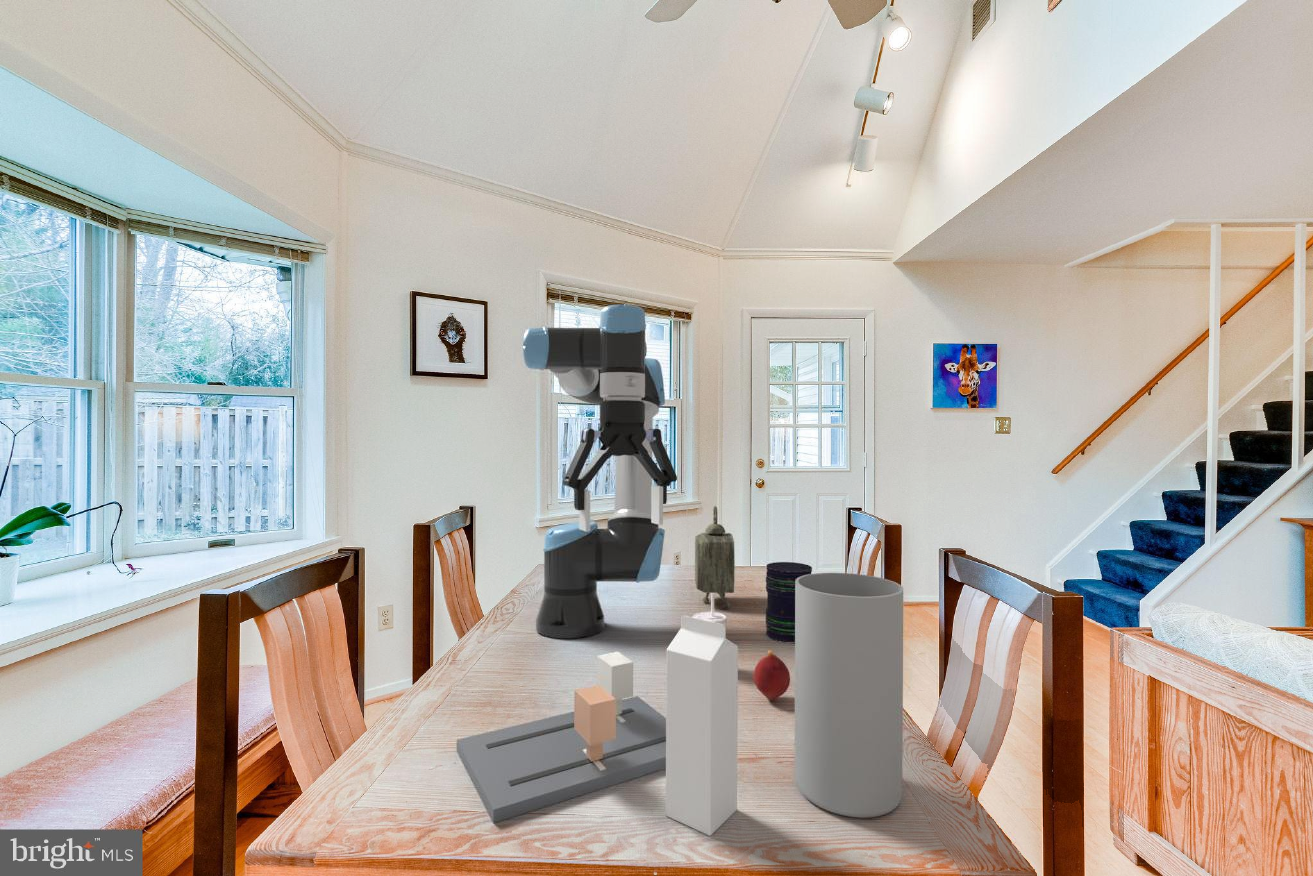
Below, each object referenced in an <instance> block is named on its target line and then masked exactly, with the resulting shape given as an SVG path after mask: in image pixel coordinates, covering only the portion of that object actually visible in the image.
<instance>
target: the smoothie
mask: <svg viewBox="0 0 1313 876" xmlns="http://www.w3.org/2000/svg"><path fill="white" fill-rule="evenodd" d="M692 618H697V619H702V620H706V621H711V622H715V623H720V624H724V625H725V626H726V624H727V623H728V621H727V619H728V618H727V616H726V614H723V613H721V612H715V593H710V611H703V612H702V611H701V612H696V613H694V614H693V615H692Z"/></svg>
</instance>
